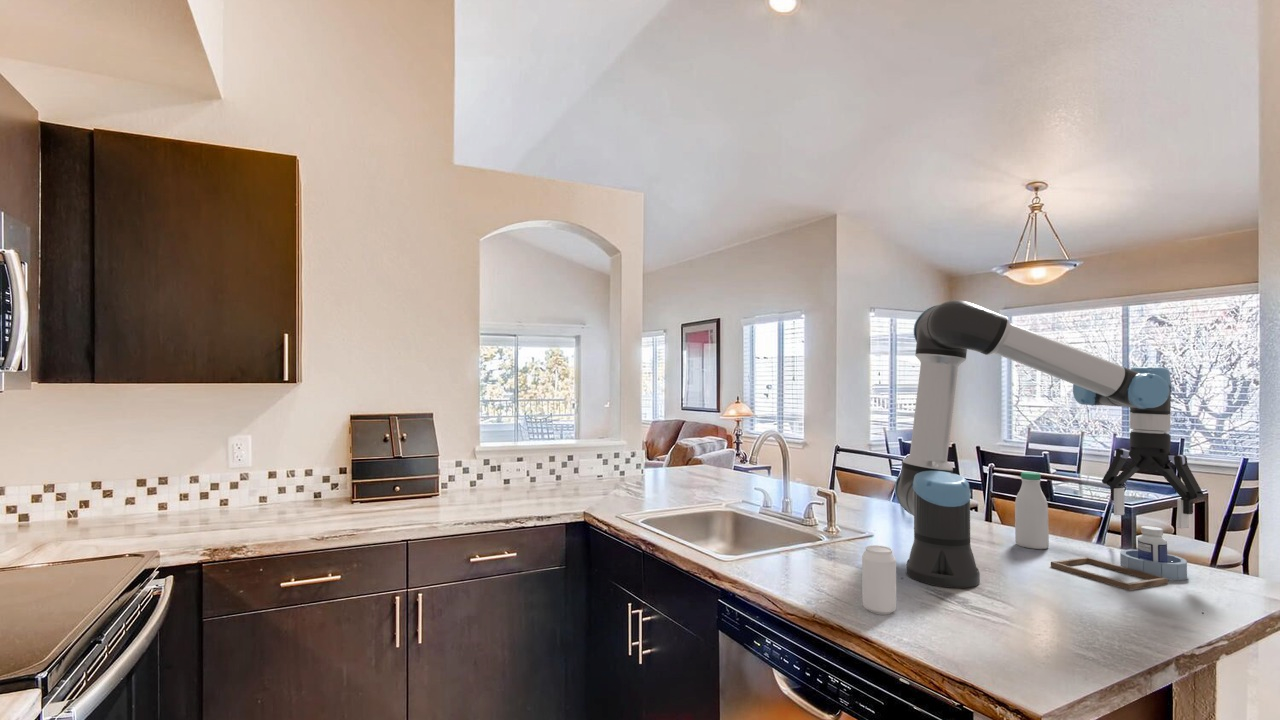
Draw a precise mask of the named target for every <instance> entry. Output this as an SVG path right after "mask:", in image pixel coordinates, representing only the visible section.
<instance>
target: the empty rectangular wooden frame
mask: <svg viewBox="0 0 1280 720" xmlns="http://www.w3.org/2000/svg"><path fill="white" fill-rule="evenodd" d="M1084 564H1090V565H1094V566H1097V567H1101V568H1105V569H1108V570H1112V571H1116V572H1119V573H1123V574H1126V575H1131V576H1133V577H1137V578H1141V579H1144V580H1139V581H1133V582H1125V581H1121V580H1118V579H1115V578H1111V577H1108V576H1105V575H1102V574H1097V573H1094V572H1090V571H1087V570H1084V569H1080V568H1077V567H1073V566H1076V565H1084ZM1050 567H1051V568H1052V569H1053V568H1054V569H1057V570H1061V571H1063V572H1064V571H1065V572H1066V573H1071V574H1073V575H1077V576H1080V577H1083V578H1088V579H1091V580H1094V581H1097V582H1101V583H1105V584H1107V585H1112V586H1114V587H1118V588H1121V589H1124V590H1127V591H1132V590H1138V589H1145V588H1151V587H1156V586H1157V587H1158V586H1163V585H1164V586H1165V585H1168V580H1167V578H1164V577H1160V576H1156V575H1152V574H1149V573H1145V572H1141V571H1137V570H1134V569H1130V568H1126V567H1122V566H1121V565H1118V564H1114V563H1111V562H1106V561H1104V560H1103V561H1102V560H1100V559H1099V560H1098V559H1096V558H1092V557H1089V556H1088V557H1087V556H1084V557H1077V558H1069V559H1063V560H1060V559H1059V560H1054V561H1050Z"/></svg>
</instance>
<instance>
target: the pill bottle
mask: <svg viewBox="0 0 1280 720" xmlns="http://www.w3.org/2000/svg"><path fill="white" fill-rule="evenodd" d="M1140 532H1141V534H1140V535H1138V537H1137V550H1138V559H1142V560H1147V561H1154V562H1162V563H1167V554H1168V542H1167V539H1165V538H1164V537H1163V535H1164V530H1163V528H1160V527H1156V526H1150V525H1149V526H1148V525H1143V526H1140Z"/></svg>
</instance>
